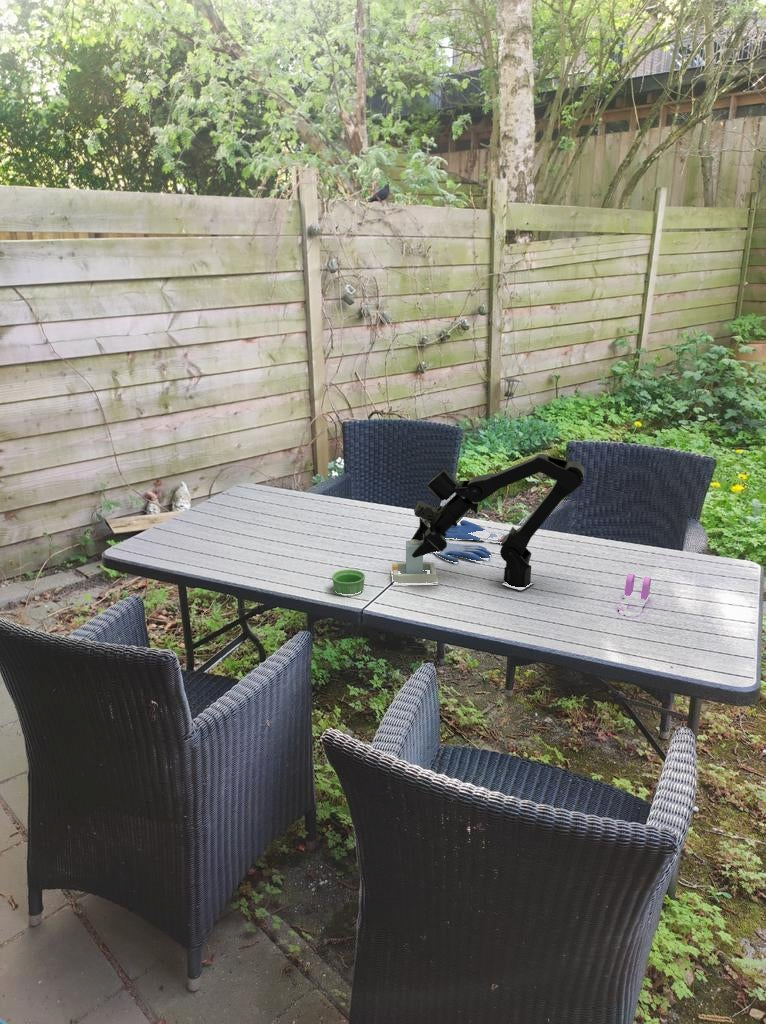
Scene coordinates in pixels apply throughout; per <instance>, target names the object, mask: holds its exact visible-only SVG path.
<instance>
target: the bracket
mask: <svg viewBox="0 0 766 1024" xmlns="http://www.w3.org/2000/svg"><path fill="white" fill-rule="evenodd" d="M651 582H652V578H651V577H648V576H644V577H643V581H642V585H641V586H642V587H641V592H640V593H641V599H644V600H646V599H647V597H648V595H649V596H650V592H651V584H652V583H651ZM634 586H635V574H634V573H628V574H627V576H626V581H625V587H624V588H625V589H624V595H626V596H630V595H631V593H632V592H634ZM624 595H623V596H624ZM618 605H619V604H618ZM619 606H621V605H619ZM619 609H620V610H622V609H623V607H621V608H619ZM622 611H624V609H623V610H622Z"/></svg>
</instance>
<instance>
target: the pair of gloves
mask: <svg viewBox="0 0 766 1024" xmlns="http://www.w3.org/2000/svg"><path fill="white" fill-rule="evenodd" d="M459 524H460V525H459ZM459 524H458V525H457V526H456V527H454V526H452V527H451V528H450V529H449V530H448V531H447V532H446V534H447V535H446V536H445V538H454V539H456V538H457V539H473V540H480V538H478V537H476V536H473V535H471V534H468V533H471V532H472V533H473V532H476V531H483V530H486V529H485V528H484V527H482V526H480V525H479V524H476V523H473V522H471V521H468V520H464V519H462V520H459ZM493 533H494V532H491V534H490V536H489V537H488V538H490V537H491V538H493V537H497V535H496V534H497V533H494V534H493ZM500 534H501V535H503V536H502V537H501V539H498V540H495V541H498V542H499V541H500V542H502V541H503V538H504V536H506V535H507V534H503V533H500ZM488 538H487V539H488ZM422 541H423V540H422ZM446 542H447V547H446V548H445V549H444V550H443V551H442V552H441V551H439V552H440V553H436V554H437V555H438V556H440V557H442V558H444V559H446V560H449V561H453V562H458V563H459V559H458V558H459V557H463V558H467V559H471V560H476V561H482V559H481V558H490V556H489V555H491V554H492V553H491V551H489V550H488V549H487V548H486V547H485V546H481V545H479V544H462V543H461V544H460V543H459V544H458V543H452V542H449V541H446ZM437 552H438V551H437ZM448 555H454V556H448ZM438 556H437V557H438ZM456 556H458V557H457V558H456ZM491 556H492V555H491ZM480 557H481V558H480ZM463 558H462V559H463ZM467 559H466V560H467Z"/></svg>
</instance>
